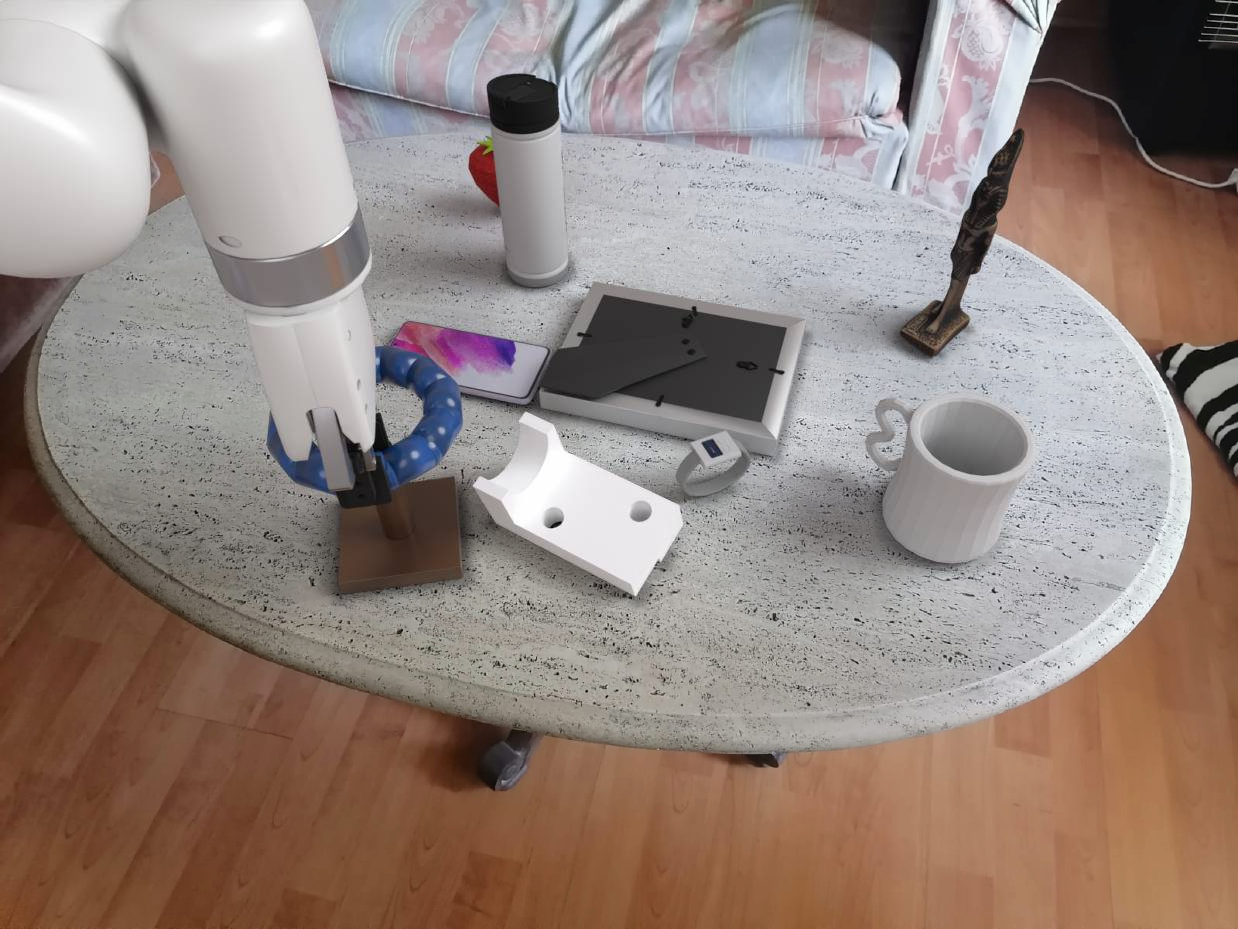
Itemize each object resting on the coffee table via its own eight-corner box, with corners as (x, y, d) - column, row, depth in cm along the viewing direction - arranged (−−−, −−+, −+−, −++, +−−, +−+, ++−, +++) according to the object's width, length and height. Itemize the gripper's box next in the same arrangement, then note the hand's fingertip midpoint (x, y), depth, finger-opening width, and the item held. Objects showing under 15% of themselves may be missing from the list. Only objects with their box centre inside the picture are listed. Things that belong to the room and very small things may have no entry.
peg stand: (342, 594, 71) (306, 507, 63) (345, 502, 77) (313, 411, 69) (463, 578, 72) (442, 490, 64) (457, 487, 78) (437, 396, 70)
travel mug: (492, 274, 96) (467, 85, 81) (534, 243, 100) (518, 56, 84) (539, 298, 94) (522, 107, 78) (581, 265, 97) (572, 76, 82)
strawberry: (484, 191, 106) (473, 106, 98) (549, 199, 105) (543, 115, 97) (466, 221, 102) (453, 136, 95) (533, 230, 101) (525, 145, 93)
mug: (1020, 522, 75) (1064, 436, 67) (954, 589, 71) (993, 506, 63) (891, 439, 81) (918, 351, 73) (823, 496, 77) (844, 409, 69)
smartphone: (528, 401, 83) (371, 369, 86) (529, 408, 84) (374, 376, 86) (554, 346, 87) (405, 317, 90) (555, 353, 88) (406, 324, 91)
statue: (894, 341, 89) (949, 147, 74) (934, 305, 92) (993, 113, 77) (933, 362, 87) (998, 167, 72) (972, 324, 91) (1041, 131, 75)
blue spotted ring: (268, 517, 60) (255, 490, 58) (279, 379, 68) (269, 352, 66) (470, 487, 61) (465, 461, 59) (457, 356, 70) (452, 329, 68)
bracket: (499, 528, 76) (472, 486, 70) (546, 458, 79) (525, 411, 72) (637, 601, 72) (622, 563, 65) (683, 524, 74) (673, 480, 67)
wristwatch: (736, 464, 79) (742, 423, 75) (752, 487, 78) (759, 446, 74) (669, 487, 78) (671, 446, 74) (684, 512, 76) (687, 471, 72)
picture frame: (540, 408, 84) (773, 456, 80) (538, 385, 82) (777, 433, 78) (594, 298, 94) (804, 336, 90) (593, 274, 91) (808, 313, 87)
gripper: (230, 164, 52) (314, 400, 66) (191, 364, 42) (301, 595, 56) (368, 151, 53) (423, 387, 67) (364, 344, 42) (430, 577, 56)
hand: (367, 479), depth 61 cm, fingers closed on blue spotted ring, 2 cm apart
